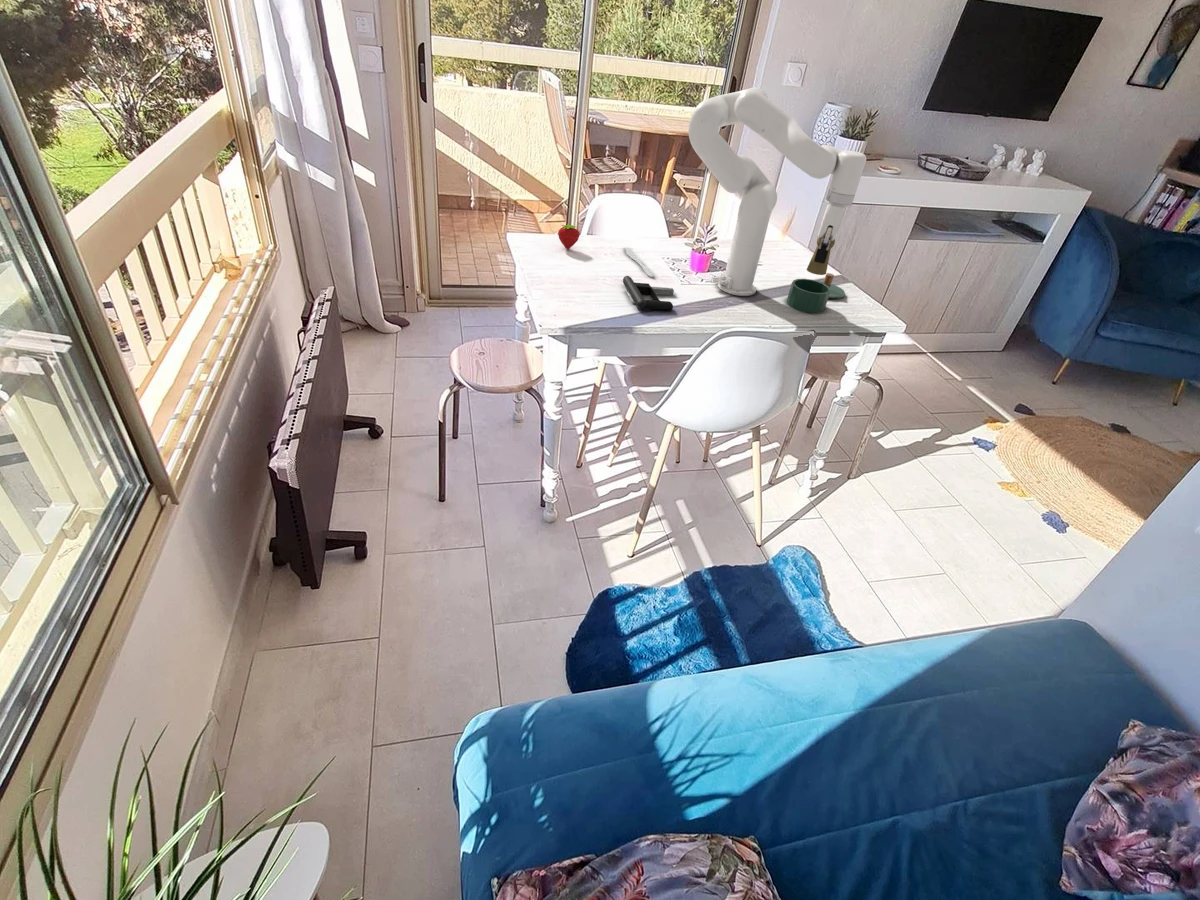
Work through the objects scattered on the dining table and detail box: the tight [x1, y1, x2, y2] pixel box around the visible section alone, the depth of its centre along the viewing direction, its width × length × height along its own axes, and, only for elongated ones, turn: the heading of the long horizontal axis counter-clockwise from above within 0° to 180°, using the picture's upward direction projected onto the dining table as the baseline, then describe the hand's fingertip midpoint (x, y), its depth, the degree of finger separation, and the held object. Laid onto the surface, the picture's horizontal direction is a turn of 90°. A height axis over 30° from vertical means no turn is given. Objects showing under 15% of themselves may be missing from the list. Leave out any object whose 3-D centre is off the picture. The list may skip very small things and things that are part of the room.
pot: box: [786, 278, 831, 314], centre depth 199 cm, size 12×12×6 cm
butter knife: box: [625, 247, 655, 278], centre depth 216 cm, size 1×27×3 cm
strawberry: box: [557, 221, 581, 250], centre depth 216 cm, size 6×8×10 cm
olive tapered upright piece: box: [806, 236, 836, 276], centre depth 191 cm, size 6×6×11 cm
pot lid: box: [817, 272, 846, 299], centre depth 210 cm, size 13×13×6 cm
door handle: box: [622, 275, 675, 312], centre depth 191 cm, size 3×20×16 cm
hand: (820, 259), depth 192 cm, fingers closed on olive tapered upright piece, 4 cm apart
